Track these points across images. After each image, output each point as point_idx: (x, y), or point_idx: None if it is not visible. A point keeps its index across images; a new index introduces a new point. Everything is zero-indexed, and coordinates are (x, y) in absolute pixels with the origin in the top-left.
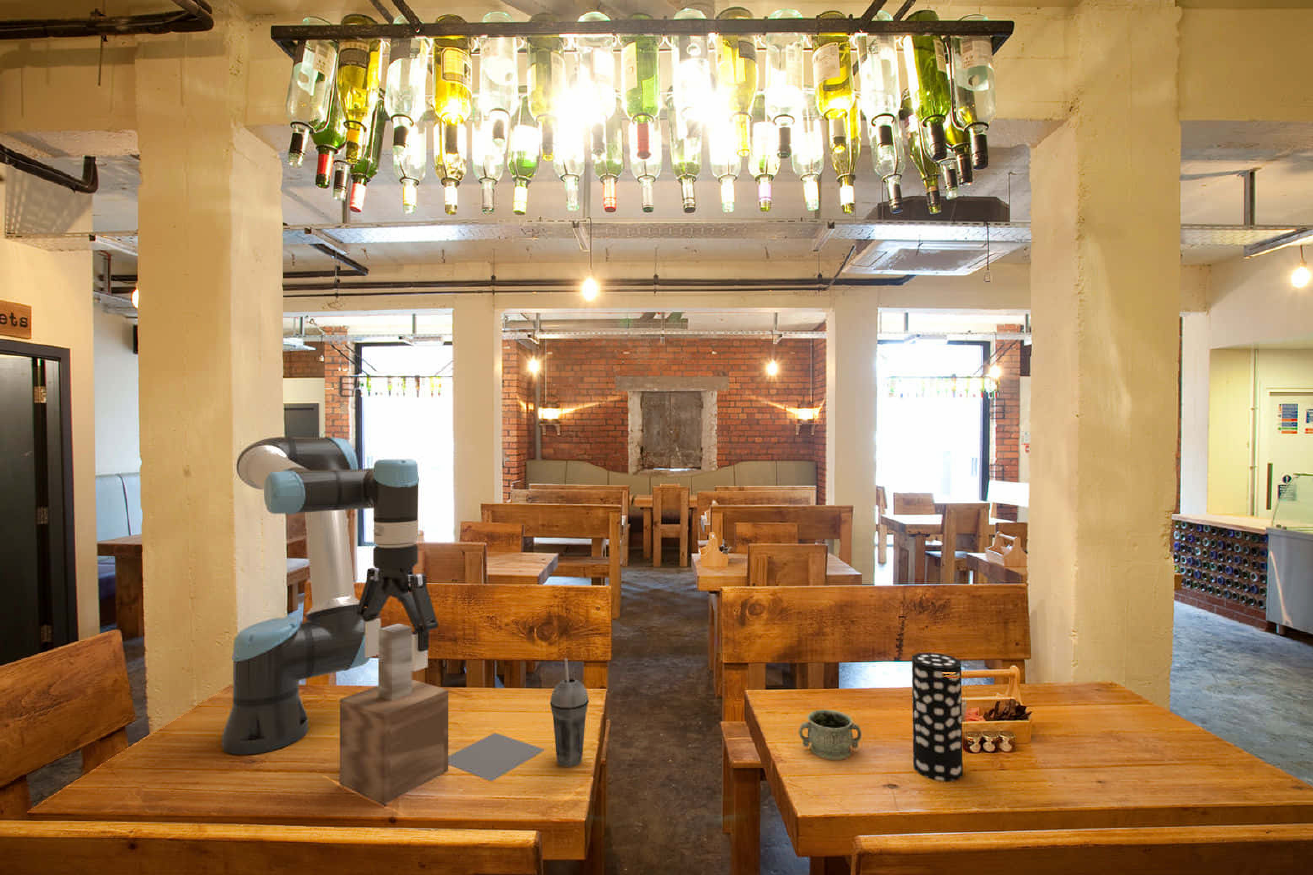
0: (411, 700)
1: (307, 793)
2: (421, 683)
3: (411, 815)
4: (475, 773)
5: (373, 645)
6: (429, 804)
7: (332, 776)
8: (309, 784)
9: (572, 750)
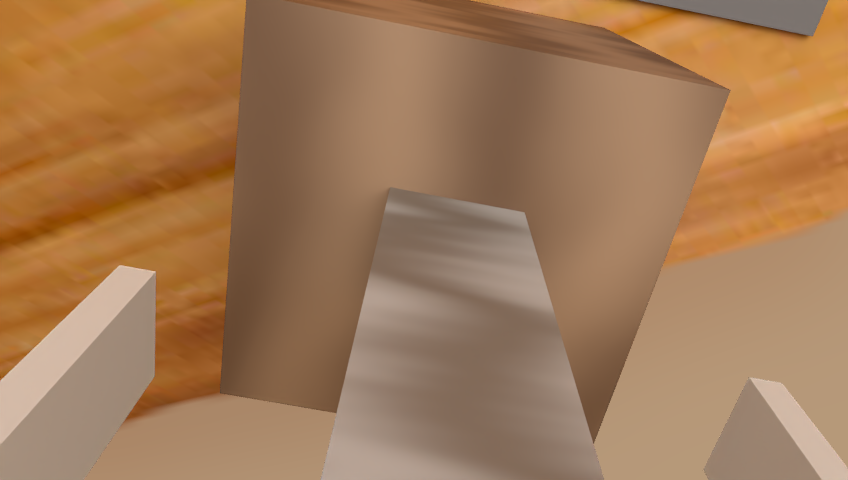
0: (598, 293)
1: None
2: (468, 55)
3: None
4: (724, 10)
5: (111, 385)
6: None
7: None
8: (222, 252)
9: None
